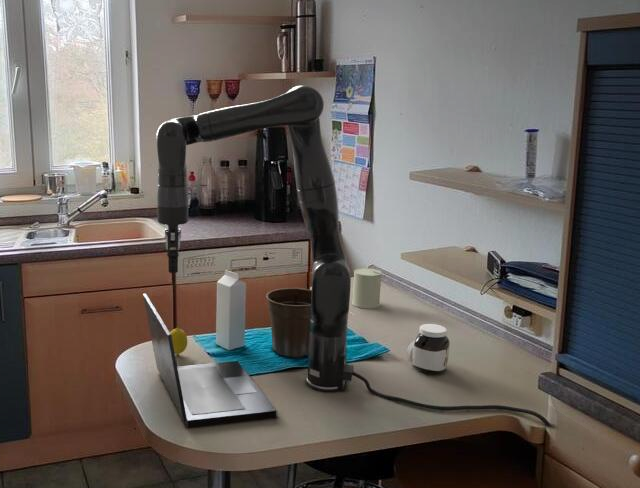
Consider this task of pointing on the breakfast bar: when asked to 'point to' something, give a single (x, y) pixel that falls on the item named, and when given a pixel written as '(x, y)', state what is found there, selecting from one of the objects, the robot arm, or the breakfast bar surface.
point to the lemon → (179, 340)
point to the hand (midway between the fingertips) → (173, 267)
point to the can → (366, 288)
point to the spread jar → (430, 349)
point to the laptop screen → (165, 355)
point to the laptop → (221, 395)
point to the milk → (230, 311)
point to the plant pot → (290, 320)
